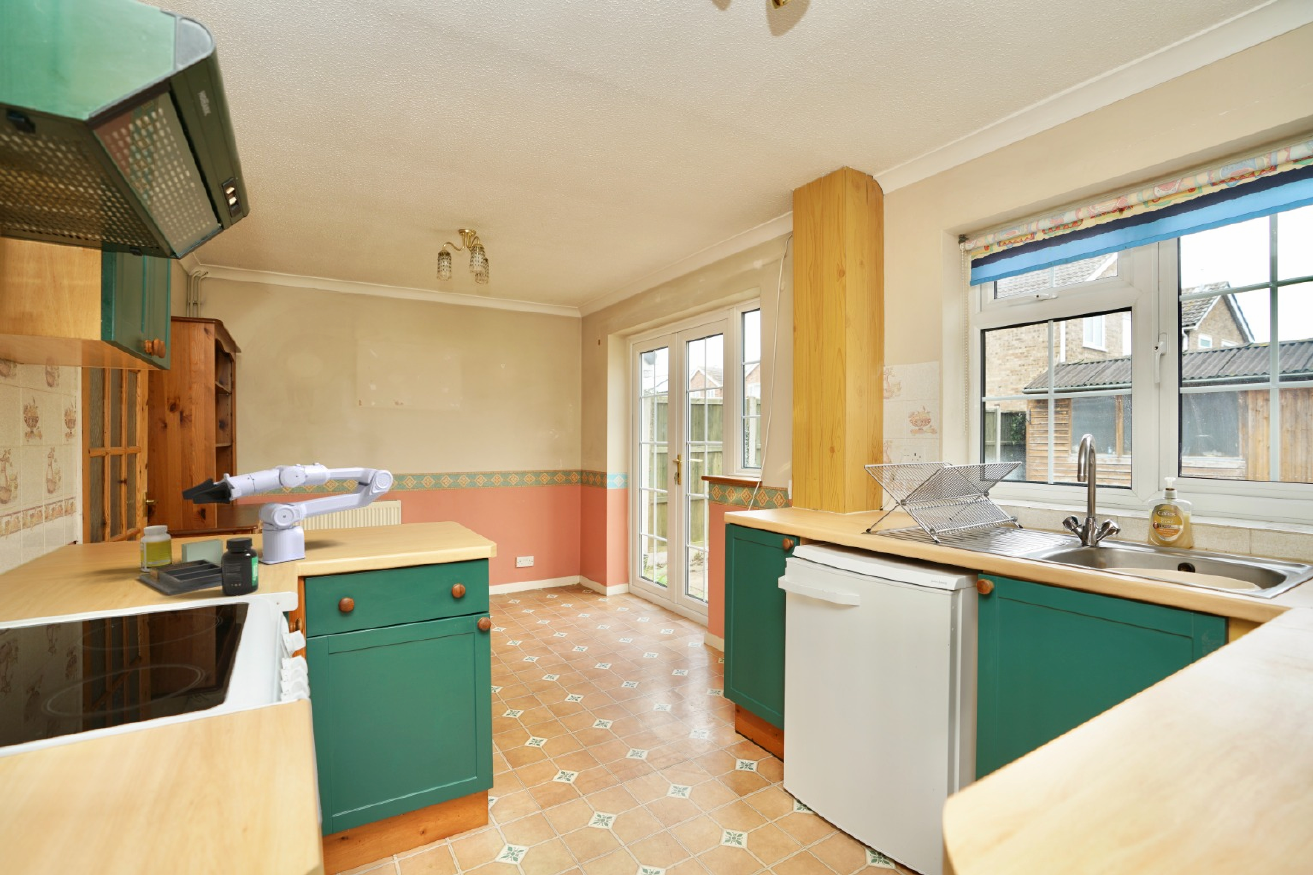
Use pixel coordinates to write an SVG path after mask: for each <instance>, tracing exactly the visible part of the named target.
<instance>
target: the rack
mask: <svg viewBox="0 0 1313 875" xmlns="http://www.w3.org/2000/svg"><path fill="white" fill-rule="evenodd" d="M138 579H139V580H140V581H142V582H144V583H146V584H148V585H149V586H151V587H153V588H155V589H157V590H159V591H161V592H162V593H163V594H166V595H167V596H174V595H179V594H181V595H182V594H185V592H186V593H190V591H191V592H196V591H200V590H199V589H201V590H206V589H211V588H212V589H213V588H215V587H222V572H221V564H219V563H217V564H216V563H213V562H211V561H208V560H206V559H202V560H195V561H189V562H183V563H182V562H178V563H172V564H171V565H165V566H158V567H152V568H150V572H148V573H143V574H138ZM195 590H196V591H195Z"/></svg>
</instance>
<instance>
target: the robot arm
mask: <svg viewBox="0 0 1313 875" xmlns="http://www.w3.org/2000/svg"><path fill="white" fill-rule="evenodd" d="M331 480H333V481H335V480H337V481H338V480H354V481H355V482H357V483H356V487H355V489H354V491H353V492H349V493H344V494H342V493H341V494H337V495H332V496H325V497H324V496H323V497H319V498H313V499H308V500H302V501H292V502H289V501H288V502H283V503H282V502H281V503H280V502H277V501H269V502H266V503H264V504H263V505H262V506H261V507H260V508H259V511H258V518H259V520H260V521H261V522H262V523H263V525H262V527H261V529H262V530H261V532H262V533H261V534H262V537H261V540H262V557H258V562H261V563H265V564H267V565H272V564H273V565H274V564H279V563H284V562H285V563H286V562H289V561H294V560H300V559H301V560H302V559H305V558H307V556H306V555H305V552H306V551H305V533H304V529H303V527H302V526H301V525H299V524H298V525H294V524H295V523H299V522H302V521H304V519H308V518H314V517H318V516H324V515H330V514H334V513H339V512H343V511H344V512H345V511H348V510H354V509H360V508H361V509H362V508H364V507H368V506H369V505H371V504H372V503H373V502H375V500H377V499H378V498H379V497H381V496H382V495H384V494H387V493H388V492H389V490H390V489H391V487H392V485H393V481H394V477H393V474H392V473H391V472H390V471H389V470H387V469H375V468H371V467H370V468H369V467H368V468H367V467H360V466H354V467H341V468H340V467H339V468H327V467H326V466H325V465H323V464H320V462H313V463H312V464H307V465H305V464H304V465H303V464H302V465H301V464H300V463H294V465H292V466H290V465H286V464H285V465H284V464H283V465H281V464H280V465H277V466H275V467H274V468H271V469H264V470H259V471H255V472H249V473H246V474H240V475H234V476H230V474H229V473H223V478H222V479H221V480H220V481H216V482H214V479H213V477H210V478H207V479H205V481H203V482H201V483H199V484H197V485H194V486H193V487H190V488H188V489H185V490H183V491H181V494H182V499H183V500H185V501H191V500H192V503H193V505H201V504H202V505H204V504H224V505H230V504H231V501H234V500H236V499H240V498H244V497H249V496H253V495H258V494H261V493H266V492H270V491H274V490H277V489H281V488H283V487H285V488H292V489H295V488H297V487H298V486H299V487H303V486H319V485H321V486H322V485H325V483H327V482H328V481H331Z"/></svg>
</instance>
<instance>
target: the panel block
mask: <svg viewBox="0 0 1313 875" xmlns="http://www.w3.org/2000/svg"><path fill="white" fill-rule="evenodd" d="M180 546H181V547H180V548H181V563H183V562H189V561H195V560H202V559H206V560H208V561H211V562H213V563H216V564H221V557H222V555H223V554H224V540H222V539H218V538H213V539H208V540H207V539H206V540H200V541H199V540H198V541H193V542H192V541H191V542H187V543H186V542H183V543H181V545H180Z"/></svg>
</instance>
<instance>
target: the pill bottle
mask: <svg viewBox="0 0 1313 875" xmlns="http://www.w3.org/2000/svg"><path fill="white" fill-rule="evenodd" d="M167 532H168V525H152V526H151V525H150V526H146V527H143V534H144V536H142V537H141V538H140V543H139V544H140V545H139V547H140V568H141V571H142V572H144V573H150V568H152V567H158V566H165V565H171V564H173V550H172V545H173V544H172V536H171V535H170V534H168V533H167Z"/></svg>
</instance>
